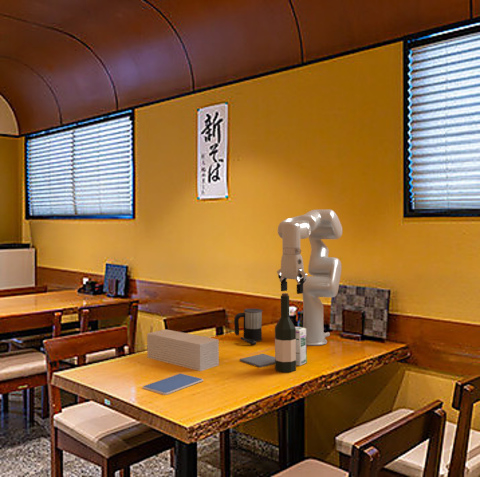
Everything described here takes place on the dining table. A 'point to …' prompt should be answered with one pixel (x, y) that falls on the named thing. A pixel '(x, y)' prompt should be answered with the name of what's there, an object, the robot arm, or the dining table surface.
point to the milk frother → (250, 325)
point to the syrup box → (301, 346)
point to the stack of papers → (183, 349)
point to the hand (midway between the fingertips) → (291, 292)
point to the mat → (259, 360)
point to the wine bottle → (285, 340)
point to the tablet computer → (172, 384)
